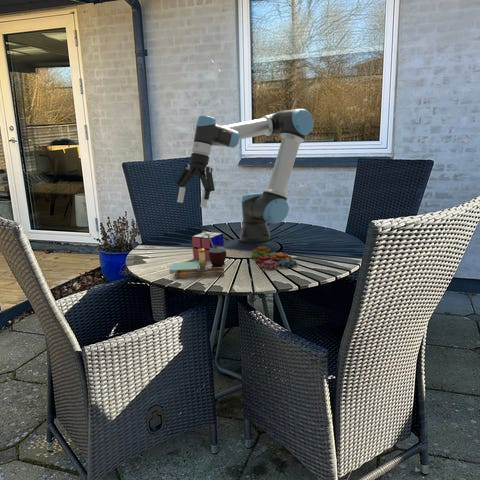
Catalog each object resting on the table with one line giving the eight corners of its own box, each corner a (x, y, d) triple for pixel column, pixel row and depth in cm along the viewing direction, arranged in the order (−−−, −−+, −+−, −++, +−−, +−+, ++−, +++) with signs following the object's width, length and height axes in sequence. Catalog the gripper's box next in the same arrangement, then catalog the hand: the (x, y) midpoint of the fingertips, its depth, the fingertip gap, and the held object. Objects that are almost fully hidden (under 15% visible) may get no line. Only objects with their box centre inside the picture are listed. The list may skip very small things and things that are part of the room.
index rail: (224, 271, 177) (223, 266, 177) (224, 276, 173) (223, 270, 172) (176, 274, 177) (176, 269, 177) (174, 278, 172) (174, 273, 172)
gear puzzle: (245, 252, 205) (244, 244, 204) (279, 249, 208) (278, 240, 207) (262, 272, 176) (262, 262, 175) (302, 268, 179) (301, 258, 178)
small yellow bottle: (208, 270, 176) (206, 247, 174) (208, 273, 173) (206, 249, 171) (198, 271, 176) (196, 248, 174) (197, 273, 173) (195, 250, 171)
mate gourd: (230, 265, 185) (228, 230, 181) (213, 270, 180) (211, 233, 177) (220, 262, 191) (217, 227, 187) (204, 266, 186) (201, 230, 183)
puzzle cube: (211, 261, 193) (210, 238, 191) (193, 258, 199) (191, 236, 196) (224, 255, 202) (223, 233, 199) (206, 252, 207) (205, 231, 205)
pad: (199, 264, 189) (199, 261, 189) (197, 271, 180) (197, 268, 179) (173, 265, 189) (172, 263, 189) (170, 273, 180) (169, 270, 179)
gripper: (173, 149, 192) (164, 199, 193) (217, 154, 176) (207, 208, 178) (185, 153, 197) (177, 201, 199) (229, 158, 182) (219, 210, 184)
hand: (191, 204), depth 189 cm, fingers open, 13 cm apart
